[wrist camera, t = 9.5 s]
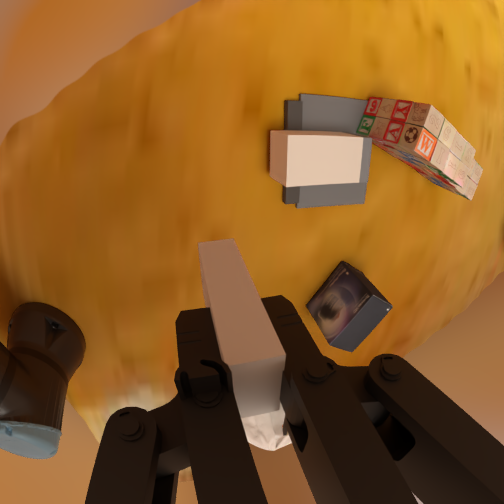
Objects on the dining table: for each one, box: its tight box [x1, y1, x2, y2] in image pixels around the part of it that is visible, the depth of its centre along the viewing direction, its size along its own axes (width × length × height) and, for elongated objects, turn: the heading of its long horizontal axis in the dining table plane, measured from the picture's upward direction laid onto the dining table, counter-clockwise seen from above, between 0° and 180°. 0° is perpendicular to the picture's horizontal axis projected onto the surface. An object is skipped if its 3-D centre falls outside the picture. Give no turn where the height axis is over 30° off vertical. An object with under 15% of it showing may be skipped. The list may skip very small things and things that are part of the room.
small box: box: [306, 261, 393, 352], centre depth 47 cm, size 11×6×10 cm, turn 145°
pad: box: [283, 94, 368, 208], centre depth 39 cm, size 14×16×1 cm
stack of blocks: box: [356, 97, 483, 200], centre depth 36 cm, size 21×6×12 cm, turn 68°
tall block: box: [270, 130, 372, 187], centre depth 36 cm, size 5×6×12 cm
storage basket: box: [241, 402, 292, 451], centre depth 50 cm, size 24×16×15 cm
